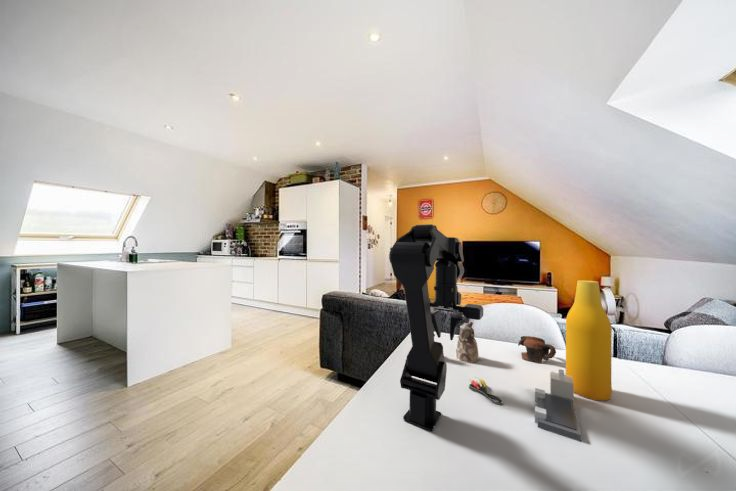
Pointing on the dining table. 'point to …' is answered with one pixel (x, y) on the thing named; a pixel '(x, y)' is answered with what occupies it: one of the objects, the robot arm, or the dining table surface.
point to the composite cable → (483, 390)
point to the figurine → (467, 344)
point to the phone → (556, 415)
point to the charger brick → (561, 385)
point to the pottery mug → (536, 349)
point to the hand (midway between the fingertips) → (445, 338)
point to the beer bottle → (589, 344)
